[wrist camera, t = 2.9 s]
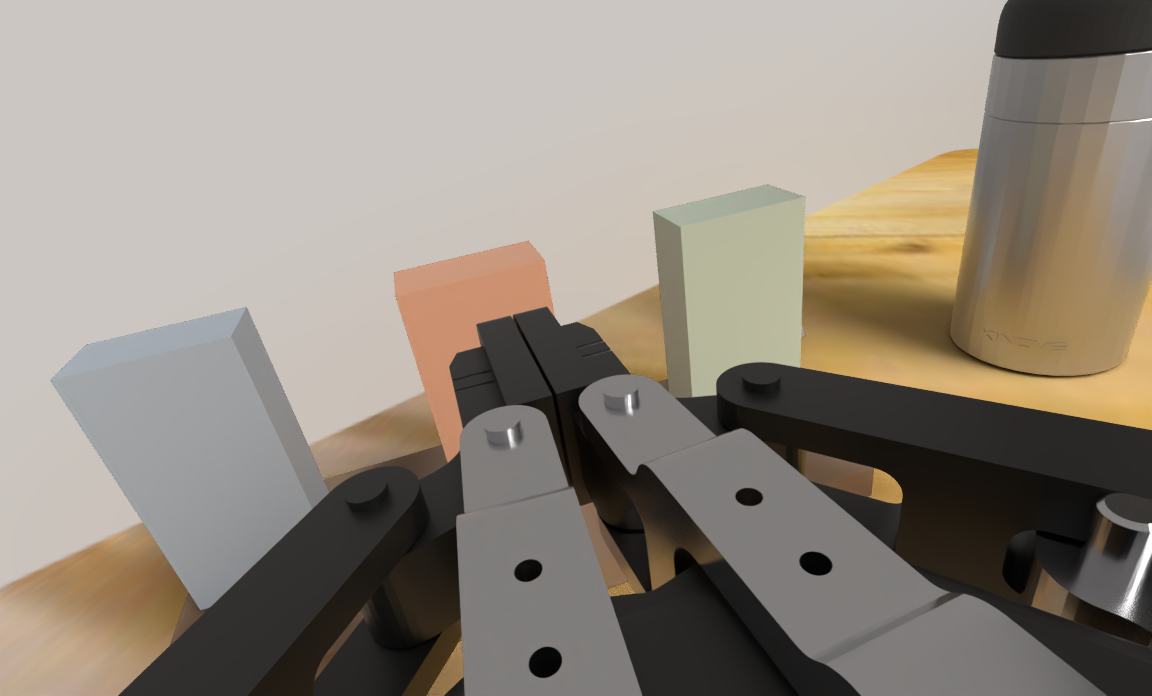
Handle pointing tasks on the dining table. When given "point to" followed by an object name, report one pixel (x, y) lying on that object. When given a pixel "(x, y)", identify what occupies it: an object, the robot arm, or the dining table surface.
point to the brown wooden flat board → (433, 459)
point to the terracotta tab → (463, 315)
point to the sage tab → (730, 284)
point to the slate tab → (197, 442)
